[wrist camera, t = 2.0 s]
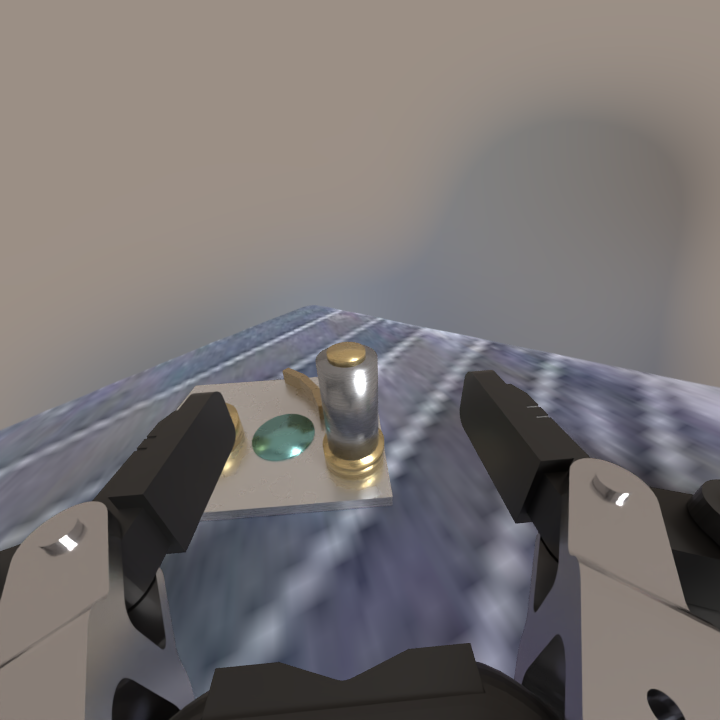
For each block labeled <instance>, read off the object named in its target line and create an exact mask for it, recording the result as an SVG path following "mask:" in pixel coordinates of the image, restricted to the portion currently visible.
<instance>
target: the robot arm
mask: <svg viewBox="0 0 720 720" xmlns="http://www.w3.org/2000/svg"><path fill="white" fill-rule="evenodd" d="M460 419H461V423H462V426H463V428H464V430H465V432H466V433H467V435H468V437H469V439H470V441H471V443H472V444H473V446H474V448H475V450H476V452H477V454H478V455H479V457H480V459H481V461H482V463H483V465H484V466H485V468H486V470H487V472H488V474H489V476H490V477H491V479H492V481H493V483H494V485H495V487H496V488H497V490H498V492H499V494H500V496H501V498H502V499H503V501H504V503H505V505H506V507H507V509H508V510H509V512H510V514H511V516H512V518H513V520H514V521H515V523H526V522H533V524H534V525H535V527H536V529H537V530H538V534H537V536H536V541H535V550H534V559H533V568H532V576H531V585H530V594H529V603H528V612H527V618H526V623H525V627H524V630H523V633H522V636H521V640H520V645H519V649H518V655H517V661H516V669H515V677H514V679H512V678H511V677H509V676H507V675H506V674H504V673H503V672H501V671H499V670H497V669H494V668H492V667H490V666H488V665H485V664H483V663H480V662H476V661H475V658H474V654H473V651H472V647H471V644H470V643H465V644H455V645H445V646H435V647H425V648H415V649H408V650H406V651H404V652H402V653H400V654H398V655H396V656H394V657H392V658H390V659H388V660H386V661H384V662H382V663H381V664H379V665H377V666H375V667H373V668H371V669H369V670H367V671H365V672H363V673H361V674H359V675H357V676H355V677H353V678H351V679H349V680H344V681H340V680H335V679H332V678H329V677H326V676H322V675H319V674H316V673H313V672H309V671H306V670H303V669H300V668H296V667H293V666H290V665H287V664H283V663H280V662H276V663H266V664H256V665H246V666H236V667H226V668H216V669H215V672H214V676H213V679H212V683H211V687H210V690H209V691H208V692H206V693H204V694H203V695H201V696H200V697H198V698H197V699H194V694H193V690H192V686H191V683H190V680H189V677H188V675H187V672H186V670H185V668H184V666H183V664H182V663H181V660H180V658H179V655H178V652H177V649H176V644H175V638H174V633H173V627H172V621H171V616H170V610H169V604H168V598H167V593H166V587H165V581H164V576H163V572H162V570H161V568H160V565H161V563H162V561H163V559H164V557H165V555H166V554H171V553H182V552H186V550H187V548H188V546H189V544H190V542H191V539H192V537H193V535H194V533H195V531H196V528H197V526H198V524H199V522H200V519H201V517H202V515H203V513H204V511H205V508H206V506H207V504H208V502H209V500H210V497H211V495H212V493H213V491H214V489H215V486H216V484H217V482H218V480H219V478H220V475H221V473H222V471H223V469H224V466H225V464H226V462H227V460H228V458H229V455H230V453H231V451H232V449H233V447H234V444H235V438H236V431H235V426H234V424H233V421H232V418H231V416H230V413H229V411H228V408H227V406H226V403H225V400H224V398H223V396H222V394H221V393H220V392H218V391H216V392H203V393H193V394H191V395H190V396H189V397H188V398H187V399H186V401H185V402H184V403H183V404H182V405H181V407H180V408H179V409H178V410H176V411H174V412H173V413H171V414H170V415H169V416H167V417H166V418H164V419H163V420H162V421H160V422H159V423H158V424H157V425H156V426H155V428H154V429H153V430H152V431H151V432H150V434H149V435H148V436H147V439H144V441H143V442H142V443H141V444H140V445H139V447H138V448H137V451H134V452H133V454H132V455H131V456H130V457H129V458H128V459H127V461H126V462H125V463H124V464H123V465H122V467H121V468H120V469H119V470H118V471H117V472H116V474H115V475H114V476H113V477H112V478H111V480H110V481H109V482H108V483H107V484H106V485H105V487H104V488H103V489H102V490H101V491H100V492H99V494H98V495H97V496H96V497H95V498H94V500H93V501H92V502H85V503H81V504H78V505H75V506H73V507H70V508H68V509H66V510H64V511H62V512H60V513H58V514H57V515H55V516H53V517H52V518H50V519H49V520H47V521H46V522H45V523H43V524H42V525H41V526H39V527H38V528H37V529H36V530H35V531H33V532H32V533H31V534H30V535H29V536H28V537H27V538H26V539H25V540H24V541H23V543H22V544H20V545H17V546H14V547H11V548H8V549H5V550H3V551H0V720H720V480H717V479H716V480H709V481H707V482H705V483H704V484H703V485H702V486H701V487H700V488H699V489H698V490H697V492H696V493H695V494H694V495H692V494H686V493H680V492H675V491H669V490H664V489H658V488H653V487H648V486H647V485H646V484H645V483H644V482H643V481H642V480H641V479H639V478H638V477H637V476H635V475H634V474H632V473H631V472H629V471H627V470H626V469H624V468H622V467H620V466H618V465H615V464H613V463H610V462H607V461H604V460H600V459H593V458H590V457H589V456H588V455H587V454H586V453H585V452H584V451H583V450H582V449H581V448H580V447H579V446H578V445H577V444H576V443H575V442H574V441H573V440H572V439H571V438H570V437H569V436H568V435H567V434H566V433H565V432H564V431H563V429H562V428H561V427H560V426H559V425H558V424H557V423H556V422H555V421H554V420H553V419H552V418H551V417H550V418H549V417H548V414H547V413H546V412H545V411H544V410H543V409H542V408H541V407H538V404H537V403H536V402H535V401H534V400H533V399H532V398H531V397H530V396H529V395H528V394H527V393H526V392H524V391H522V390H520V389H519V388H517V387H515V386H513V385H512V384H506V383H505V382H504V381H503V380H502V379H501V378H500V377H499V376H498V375H497V374H496V372H494V371H493V370H486V371H473V372H467V374H466V376H465V380H464V386H463V392H462V398H461V404H460Z"/></svg>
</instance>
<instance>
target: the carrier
mask: <svg viewBox="0 0 720 720" xmlns="http://www.w3.org/2000/svg"><path fill="white" fill-rule="evenodd" d="M283 375H284V380H271V381H256V382H242V383H228V384H214V385H200V386H195V387H194V389H193V390H192V391H191V392H190V394H189V395H188V396H187V397H186V399H187V398H188V397H189V396H190V395H191V394H193V393H203V392H216V391H218V392H220V393H221V394H222V396H223V398H224V400H225V403H226V406H227V408H228V411H229V413H230V416H231V418H232V421H233V424H234V426H235V431H236V438H235V444H234V447H233V449H232V451H231V453H230V455H229V458H228V460H227V462H226V464H225V466H224V469H223V471H222V473H221V475H220V478H219V480H218V482H217V484H216V486H215V489H214V491H213V493H212V495H211V497H210V500H209V502H208V504H207V506H206V508H205V511H204V513H203V515H202V517H201V519H200V521H212V520H224V519H236V518H248V517H260V516H272V515H284V514H296V513H308V512H320V511H332V510H344V509H356V508H368V507H380V506H392V498H393V497H392V491H391V485H390V479H389V474H388V468H387V462H386V456H385V450H384V459H383V463H382V465H381V467H380V468H379V469H378V470H377V471H376V472H375V473H374V474H373V475H371V476H369V477H367V478H365V479H361V480H345V479H342V478H339V477H337V476H335V475H334V474H333V473H332V472H331V471H330V470H329V469H328V467H327V465H326V462H325V456H324V450H323V438H324V436H325V434H326V427H325V421H324V414H323V407H322V401H321V394H320V387H319V380H318V377H313V378H308V377H307V376H305V375H304V374H302V373H299V372H297V371H295V370H293V369H290V368H287V369H285V370H283ZM186 399H185V400H184V401H183V402H182V404H183V403H184V402H185V401H186ZM182 404H181V405H182ZM181 405H180V406H179V407H178V409H179V408H180V407H181ZM178 409H177V410H178ZM378 428H379V429H380V430H381V427H380V421H379V415H378Z"/></svg>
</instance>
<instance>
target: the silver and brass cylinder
mask: <svg viewBox="0 0 720 720" xmlns="http://www.w3.org/2000/svg"><path fill="white" fill-rule="evenodd" d="M316 367H317V374H318V380H319V387H320V394H321V401H322V407H323V414H324V421H325V427H326V434H325V436H324V438H323V450H324V456H325V462H326V465H327V467H328V469H329V470H330V471H331V472H332V473H333V474H334V475H335V476H337V477H339V478H342V479H345V480H361V479H365V478H367V477H369V476H371V475H373V474H374V473H375V472H376V471H377V470H378V469H379V468H380V467H381V465H382V463H383V459H384V437H383V434H382V431H381V430H380V429H379V428H378V368H377V354H376V352H375V351H374V350H373V349H372V348H370V347H367V346H365V345H361V344H359V343H355V342H342V343H338V344H335V345H332V346H331V347H329V348H327V349H325V350H323V351H322V352H320V353H319V354H318V356H317V357H316Z"/></svg>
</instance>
